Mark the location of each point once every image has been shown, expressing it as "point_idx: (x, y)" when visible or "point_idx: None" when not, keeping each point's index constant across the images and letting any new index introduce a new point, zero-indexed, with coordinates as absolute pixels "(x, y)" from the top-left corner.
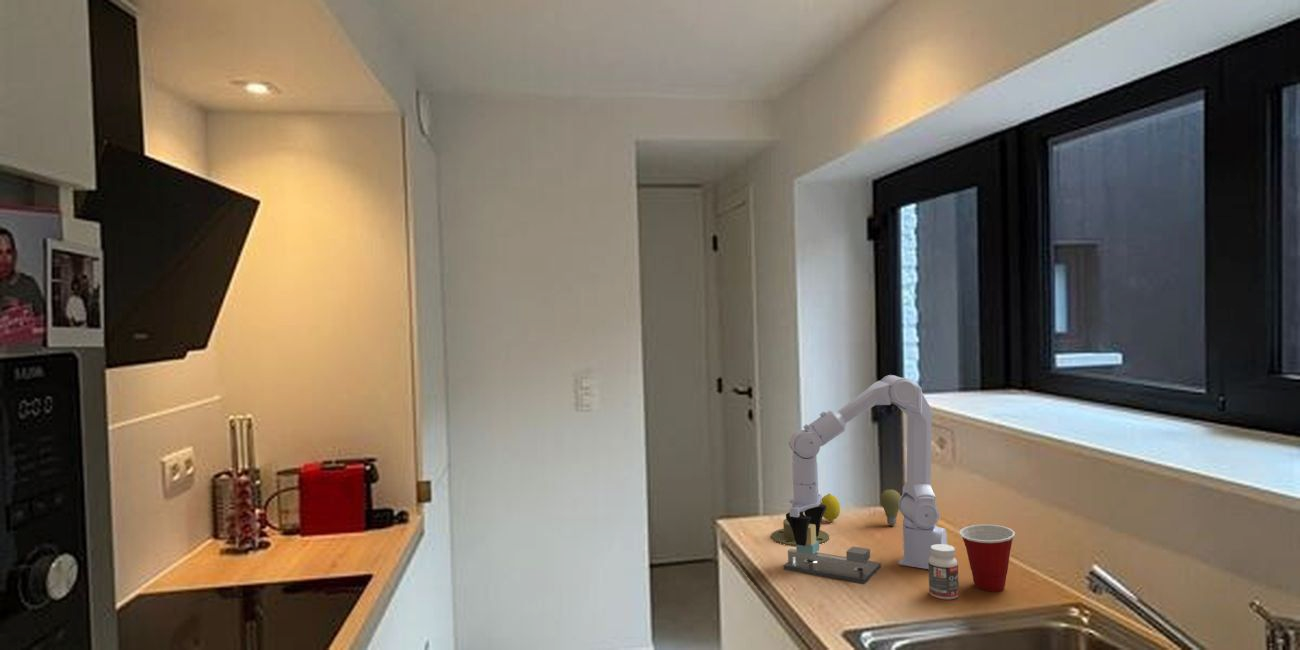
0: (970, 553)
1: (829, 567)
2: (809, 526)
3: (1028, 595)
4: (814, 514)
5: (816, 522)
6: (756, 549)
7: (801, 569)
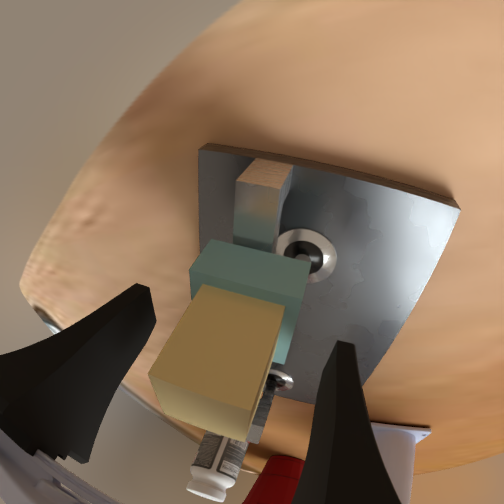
0: (257, 497)
1: None
2: (186, 416)
3: None
4: (301, 496)
5: (312, 448)
6: None
7: (201, 228)
